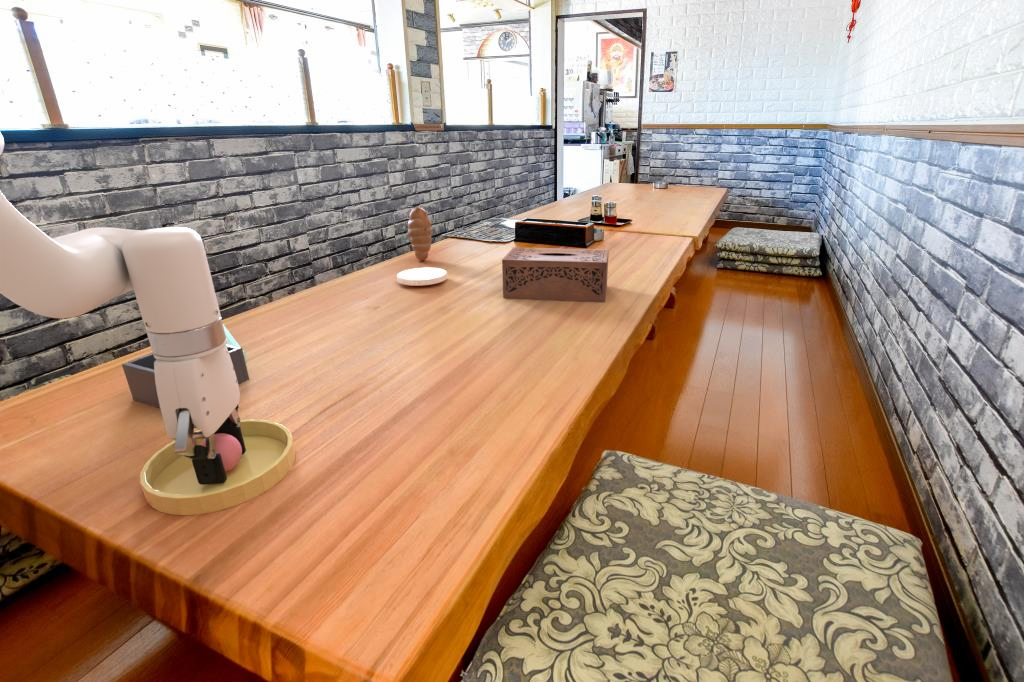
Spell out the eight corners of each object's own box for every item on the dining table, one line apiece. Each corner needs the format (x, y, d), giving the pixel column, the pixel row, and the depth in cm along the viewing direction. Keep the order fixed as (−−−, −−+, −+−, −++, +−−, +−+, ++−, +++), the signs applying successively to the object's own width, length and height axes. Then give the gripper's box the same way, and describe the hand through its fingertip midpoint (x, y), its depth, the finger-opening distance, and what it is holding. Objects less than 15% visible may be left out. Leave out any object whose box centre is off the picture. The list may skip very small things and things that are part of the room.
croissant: (430, 264, 171) (426, 207, 165) (407, 263, 172) (401, 207, 165) (437, 257, 180) (433, 203, 173) (414, 257, 180) (409, 203, 174)
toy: (220, 485, 65) (210, 451, 63) (193, 475, 67) (183, 442, 65) (254, 463, 69) (246, 430, 67) (228, 454, 71) (219, 422, 69)
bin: (182, 415, 83) (171, 377, 80) (133, 400, 88) (121, 364, 85) (250, 382, 93) (242, 347, 91) (202, 370, 98) (193, 337, 96)
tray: (210, 536, 58) (203, 514, 57) (115, 495, 65) (108, 475, 64) (324, 453, 72) (320, 434, 71) (236, 427, 79) (232, 409, 78)
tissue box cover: (503, 297, 136) (502, 259, 132) (514, 282, 149) (513, 247, 145) (604, 302, 131) (606, 262, 127) (606, 285, 144) (608, 249, 140)
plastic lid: (406, 291, 143) (405, 282, 142) (391, 280, 154) (391, 271, 153) (454, 284, 149) (454, 275, 148) (437, 273, 160) (436, 265, 159)
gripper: (190, 314, 69) (222, 434, 76) (108, 370, 53) (157, 515, 60) (249, 311, 69) (275, 430, 76) (185, 366, 54) (226, 510, 60)
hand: (223, 466), depth 68 cm, fingers open, 5 cm apart
